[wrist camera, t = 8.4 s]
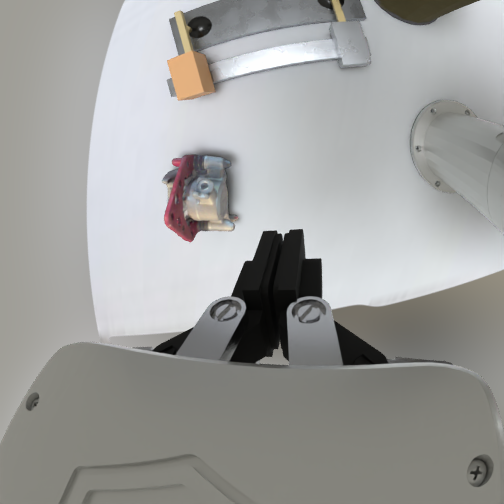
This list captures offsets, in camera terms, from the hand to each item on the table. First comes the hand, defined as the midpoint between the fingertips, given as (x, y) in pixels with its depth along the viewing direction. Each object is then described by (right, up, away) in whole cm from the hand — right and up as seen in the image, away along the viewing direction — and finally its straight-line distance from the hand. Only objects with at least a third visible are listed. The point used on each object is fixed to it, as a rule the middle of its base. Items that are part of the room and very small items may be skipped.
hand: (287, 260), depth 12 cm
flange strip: (0, +29, +11) cm, 31 cm away
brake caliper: (-8, +9, +25) cm, 28 cm away
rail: (0, +23, +15) cm, 27 cm away
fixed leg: (+8, +26, +9) cm, 29 cm away
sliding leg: (-8, +24, +14) cm, 29 cm away
